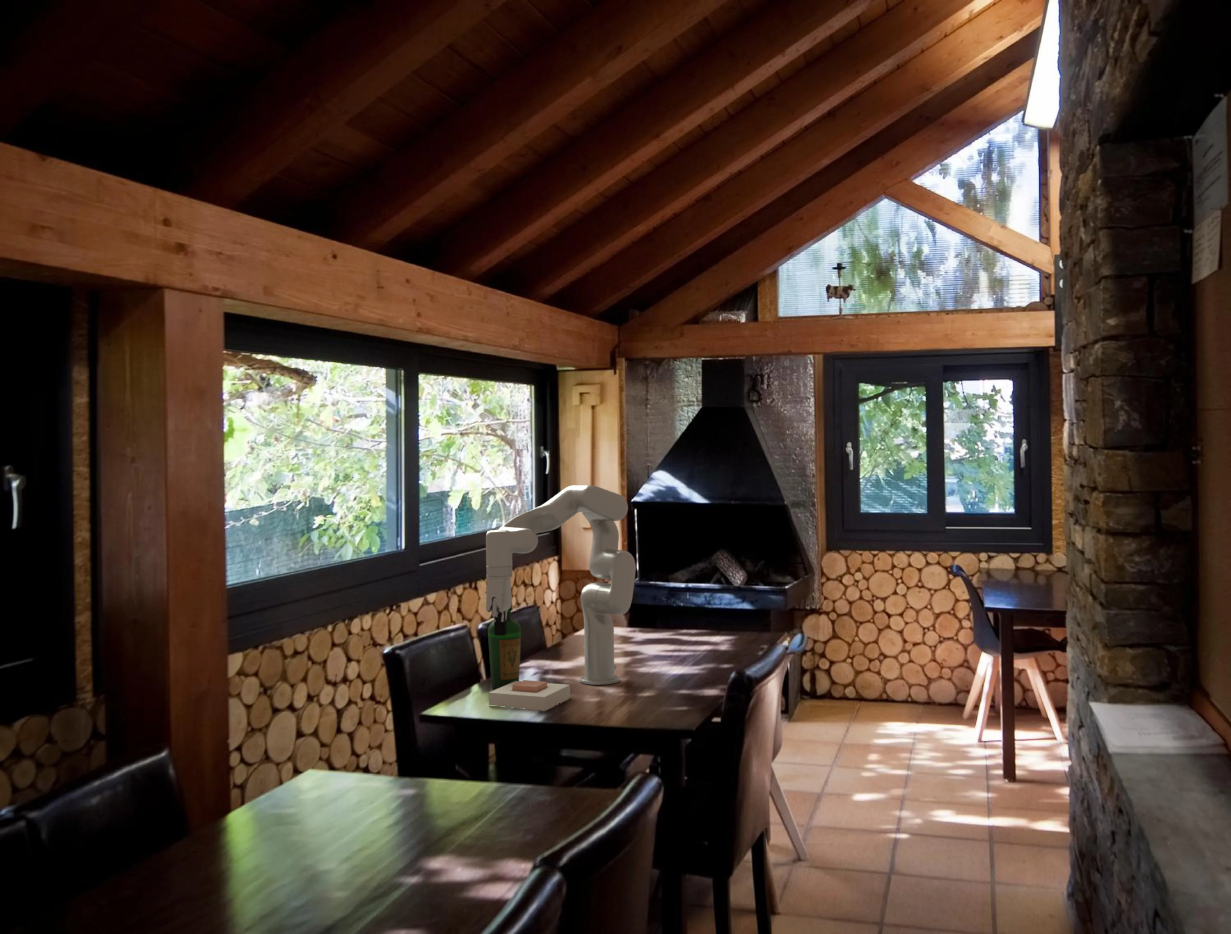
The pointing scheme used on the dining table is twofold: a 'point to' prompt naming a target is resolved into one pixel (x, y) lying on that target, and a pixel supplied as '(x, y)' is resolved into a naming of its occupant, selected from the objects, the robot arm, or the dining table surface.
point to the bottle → (505, 653)
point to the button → (529, 686)
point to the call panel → (530, 697)
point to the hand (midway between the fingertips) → (500, 634)
